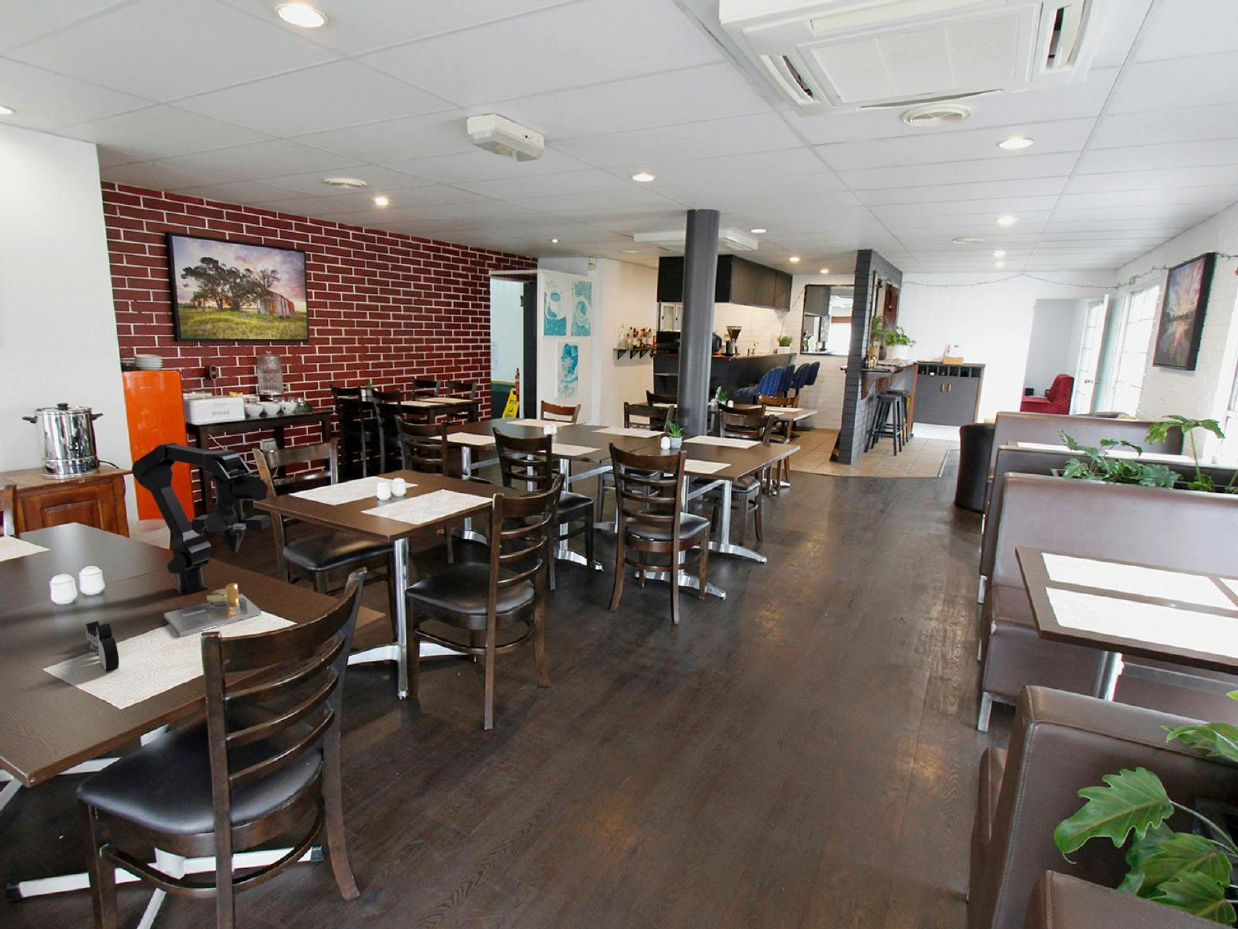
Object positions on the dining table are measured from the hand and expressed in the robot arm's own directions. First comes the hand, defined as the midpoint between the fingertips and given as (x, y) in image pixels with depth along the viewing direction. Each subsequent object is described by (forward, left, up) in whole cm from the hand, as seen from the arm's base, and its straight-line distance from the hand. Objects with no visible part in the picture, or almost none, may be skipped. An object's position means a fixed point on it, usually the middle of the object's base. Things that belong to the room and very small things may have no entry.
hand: (234, 552), depth 176 cm
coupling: (+10, -6, -9) cm, 15 cm away
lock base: (+10, -9, -12) cm, 18 cm away
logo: (+16, -32, -13) cm, 38 cm away
